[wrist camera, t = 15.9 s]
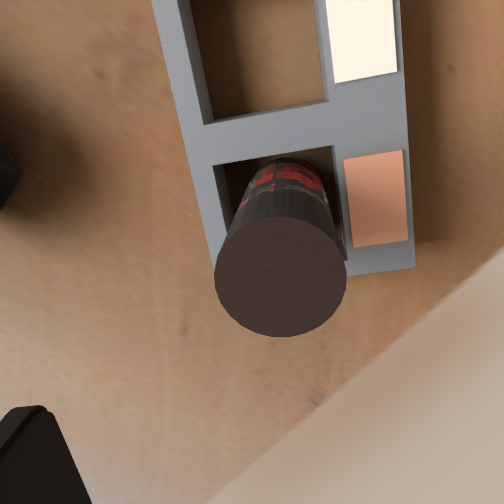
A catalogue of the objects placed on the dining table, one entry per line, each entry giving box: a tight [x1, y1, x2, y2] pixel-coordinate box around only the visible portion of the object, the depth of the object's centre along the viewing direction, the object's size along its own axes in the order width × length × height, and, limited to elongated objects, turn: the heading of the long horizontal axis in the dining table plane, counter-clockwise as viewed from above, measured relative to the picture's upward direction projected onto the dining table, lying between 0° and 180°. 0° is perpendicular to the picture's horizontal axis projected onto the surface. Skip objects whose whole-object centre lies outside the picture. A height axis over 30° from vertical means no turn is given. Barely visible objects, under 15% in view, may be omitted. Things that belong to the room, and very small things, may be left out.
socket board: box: [151, 0, 416, 276], centre depth 30 cm, size 14×21×4 cm, turn 11°
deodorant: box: [214, 158, 347, 337], centre depth 27 cm, size 6×6×15 cm
